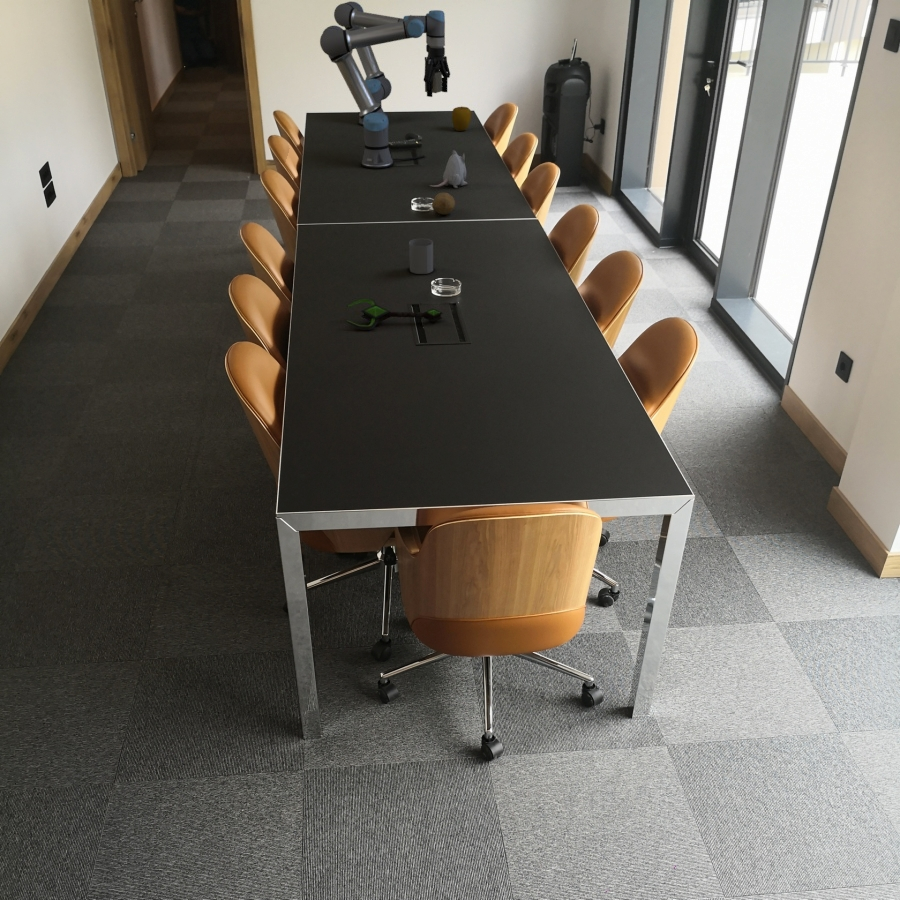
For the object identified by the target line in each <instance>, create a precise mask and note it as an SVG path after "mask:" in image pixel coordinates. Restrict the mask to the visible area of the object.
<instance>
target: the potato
mask: <svg viewBox="0 0 900 900" xmlns="http://www.w3.org/2000/svg"><path fill="white" fill-rule="evenodd" d="M455 206H456V200H455V198H454V196H452V195H451V194H449V193H448V192H439V193H437V194H436V195H435V197H434V198H433V200H432V201H431V207H432V209H433V210H434V212H436V213H437V214H439V215H441V216H442V215H449V214H450V213H452V212H453V211H454V209H455Z"/></svg>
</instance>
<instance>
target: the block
mask: <svg viewBox="0 0 900 900" xmlns="http://www.w3.org/2000/svg"><path fill="white" fill-rule="evenodd" d="M442 78H443V76H442V74H441V71H440V70H439V71H435V73H434V75H433V78H432V94H438V93H441V92H442ZM424 92H425V93H427V83H426V82H424Z"/></svg>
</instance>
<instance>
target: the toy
mask: <svg viewBox="0 0 900 900" xmlns="http://www.w3.org/2000/svg"><path fill="white" fill-rule="evenodd" d="M466 178H467V168H466V156H465V153H463V154H462V155H459V154H458V153H457V151H456V150H455V149H453V150H452V153H451V155H450V156H449V158H448V161H447V163H446V166H445V170H444V171H443V177H442V179H443V181H442V182H441V183H439V184H436V185H435V184H433V185H432V184H430V185H428V186H429V187H434V188H440V187H443V186H446V187H448V186H449V185H451V186H453V188H455V189H459V187H458V186H461V187H462V186H467V185H468V182H467V181H465V180H466Z"/></svg>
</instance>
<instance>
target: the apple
mask: <svg viewBox="0 0 900 900" xmlns="http://www.w3.org/2000/svg"><path fill="white" fill-rule="evenodd" d="M451 121H452V125H453V128H454V129H455V131H457V132H463V131H466V130H467V129H468V128H469V126H470V124H471V121H472V111H471V108H469V107H467V106H462V105H461V106H457V107H454V108H452V111H451Z"/></svg>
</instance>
